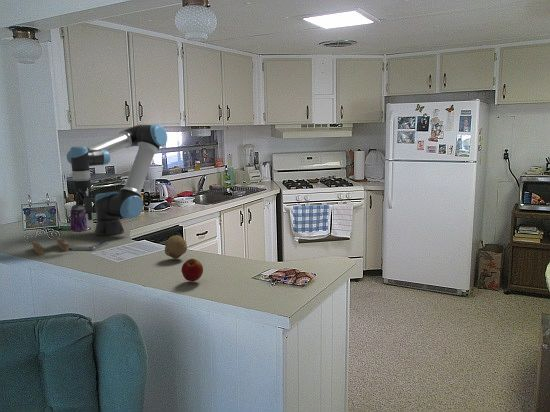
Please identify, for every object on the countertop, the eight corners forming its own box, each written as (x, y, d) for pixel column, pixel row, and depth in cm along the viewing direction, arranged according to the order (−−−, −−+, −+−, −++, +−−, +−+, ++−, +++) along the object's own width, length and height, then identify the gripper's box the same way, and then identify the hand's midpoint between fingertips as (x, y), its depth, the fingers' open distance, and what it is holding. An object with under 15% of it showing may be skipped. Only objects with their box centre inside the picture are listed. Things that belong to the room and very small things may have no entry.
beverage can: (79, 234, 216) (79, 211, 211) (67, 230, 218) (66, 207, 213) (90, 229, 222) (89, 206, 218) (78, 225, 224) (77, 203, 220)
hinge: (113, 247, 215) (113, 244, 215) (71, 253, 204) (71, 251, 203) (106, 243, 223) (106, 240, 223) (65, 249, 212) (65, 246, 212)
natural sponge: (192, 257, 194) (191, 234, 193) (177, 262, 187) (175, 238, 185) (177, 254, 199) (176, 232, 198) (161, 259, 192) (160, 236, 191)
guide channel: (60, 244, 221) (59, 237, 221) (68, 251, 209) (68, 243, 208) (32, 248, 214) (32, 241, 214) (40, 255, 202) (39, 247, 201)
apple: (177, 282, 162) (175, 260, 161) (193, 276, 169) (192, 255, 168) (192, 285, 158) (191, 263, 157) (208, 279, 165) (207, 257, 164)
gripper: (66, 178, 220) (70, 221, 223) (80, 182, 200) (85, 230, 204) (82, 177, 224) (86, 219, 228) (98, 181, 205) (102, 227, 208)
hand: (85, 224), depth 216 cm, fingers open, 13 cm apart
